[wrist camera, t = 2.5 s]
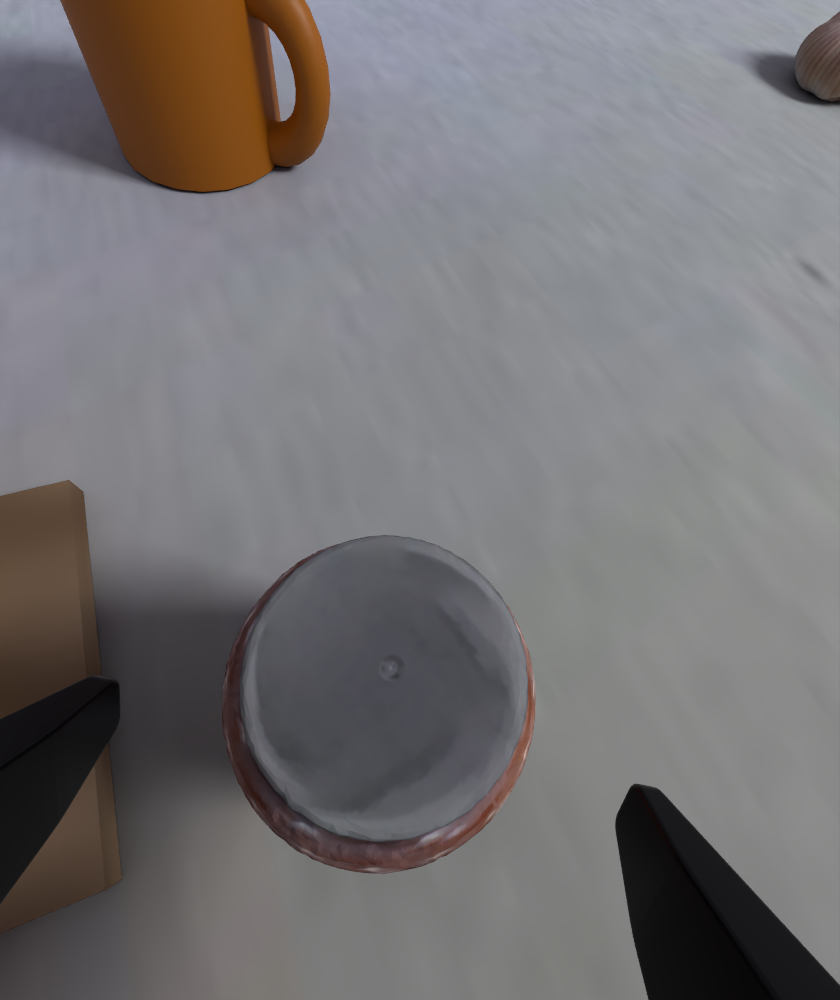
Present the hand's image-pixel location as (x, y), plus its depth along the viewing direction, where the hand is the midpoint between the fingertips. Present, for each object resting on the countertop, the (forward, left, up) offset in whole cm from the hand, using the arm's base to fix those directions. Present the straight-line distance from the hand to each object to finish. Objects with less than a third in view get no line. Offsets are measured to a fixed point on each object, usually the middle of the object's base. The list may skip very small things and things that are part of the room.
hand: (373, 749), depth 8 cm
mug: (+17, +27, -9) cm, 33 cm away
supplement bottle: (+1, +1, -9) cm, 9 cm away
